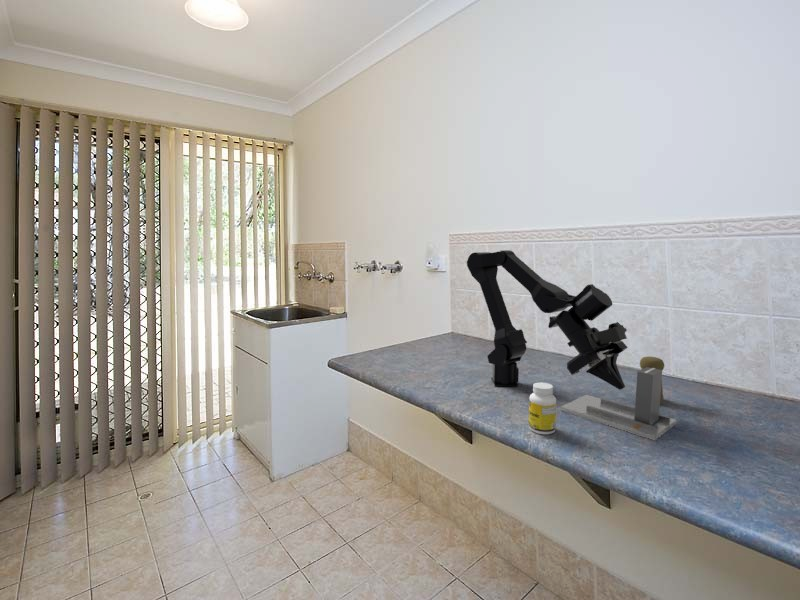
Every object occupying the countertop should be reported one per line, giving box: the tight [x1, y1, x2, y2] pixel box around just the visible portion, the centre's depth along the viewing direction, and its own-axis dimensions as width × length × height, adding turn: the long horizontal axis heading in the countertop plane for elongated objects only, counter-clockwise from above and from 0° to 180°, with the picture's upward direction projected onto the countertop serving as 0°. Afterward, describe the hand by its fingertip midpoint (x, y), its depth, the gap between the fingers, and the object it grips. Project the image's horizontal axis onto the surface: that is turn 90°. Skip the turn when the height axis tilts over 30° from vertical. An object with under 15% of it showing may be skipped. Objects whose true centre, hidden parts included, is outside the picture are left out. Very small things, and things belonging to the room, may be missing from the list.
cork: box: [639, 356, 665, 405], centre depth 101 cm, size 6×6×11 cm
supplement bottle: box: [528, 381, 557, 435], centre depth 85 cm, size 5×5×10 cm
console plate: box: [560, 394, 677, 441], centre depth 92 cm, size 20×12×2 cm, turn 39°
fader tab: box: [634, 367, 663, 424], centre depth 86 cm, size 3×5×11 cm, turn 129°
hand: (622, 388), depth 90 cm, fingers closed
